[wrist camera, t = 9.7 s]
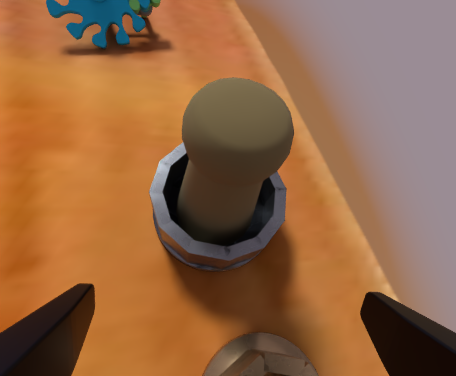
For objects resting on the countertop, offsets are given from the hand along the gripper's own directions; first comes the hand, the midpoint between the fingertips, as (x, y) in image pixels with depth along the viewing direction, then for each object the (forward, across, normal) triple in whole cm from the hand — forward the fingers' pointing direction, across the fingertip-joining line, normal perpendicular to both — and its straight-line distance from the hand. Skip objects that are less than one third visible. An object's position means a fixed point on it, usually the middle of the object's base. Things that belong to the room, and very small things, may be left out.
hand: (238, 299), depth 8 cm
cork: (+12, 0, +2) cm, 12 cm away
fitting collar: (+13, 0, +2) cm, 13 cm away
